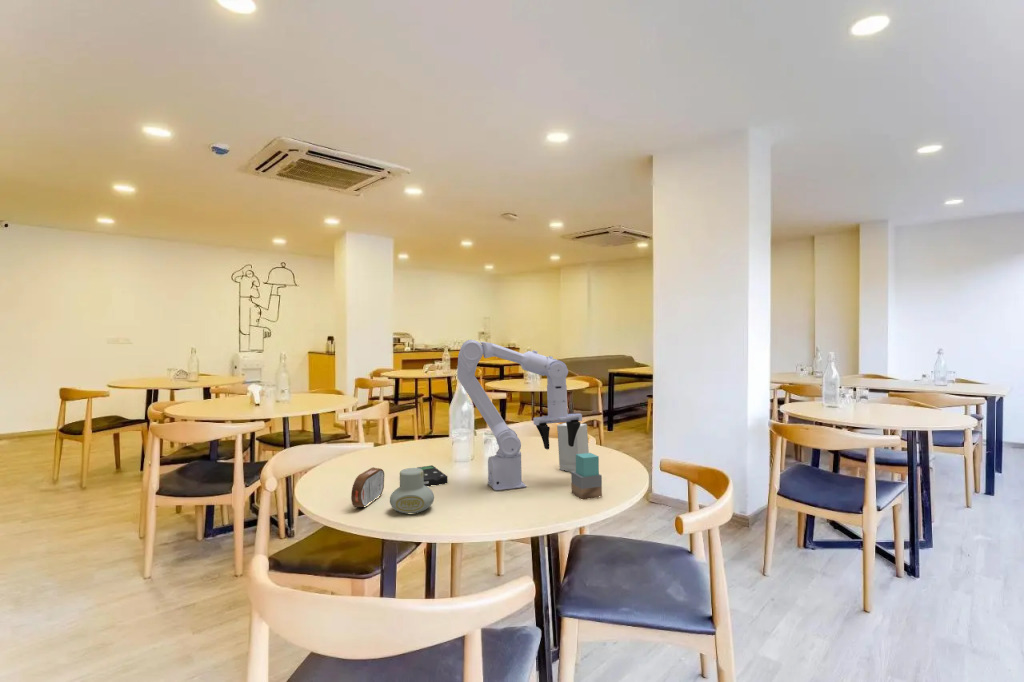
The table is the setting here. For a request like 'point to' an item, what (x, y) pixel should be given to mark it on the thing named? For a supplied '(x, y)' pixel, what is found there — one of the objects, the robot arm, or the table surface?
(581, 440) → the skincare box
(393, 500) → the air freshener
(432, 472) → the disk drive
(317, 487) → the table surface
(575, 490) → the tower bottom
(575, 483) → the tower top
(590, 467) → the teal block
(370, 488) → the tin
